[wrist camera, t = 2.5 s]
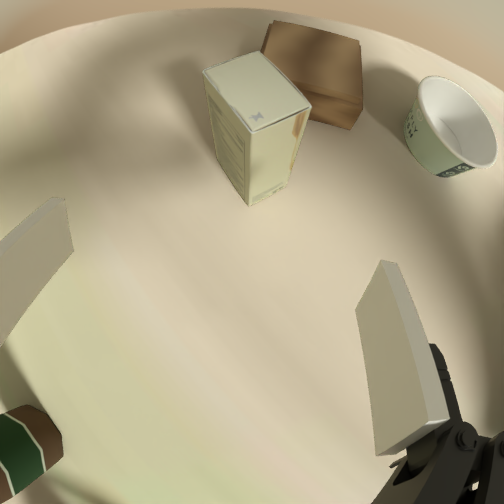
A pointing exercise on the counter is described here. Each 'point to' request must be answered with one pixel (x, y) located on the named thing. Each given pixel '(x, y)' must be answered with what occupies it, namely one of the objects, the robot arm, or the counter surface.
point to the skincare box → (255, 123)
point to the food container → (449, 129)
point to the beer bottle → (26, 448)
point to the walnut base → (319, 70)
